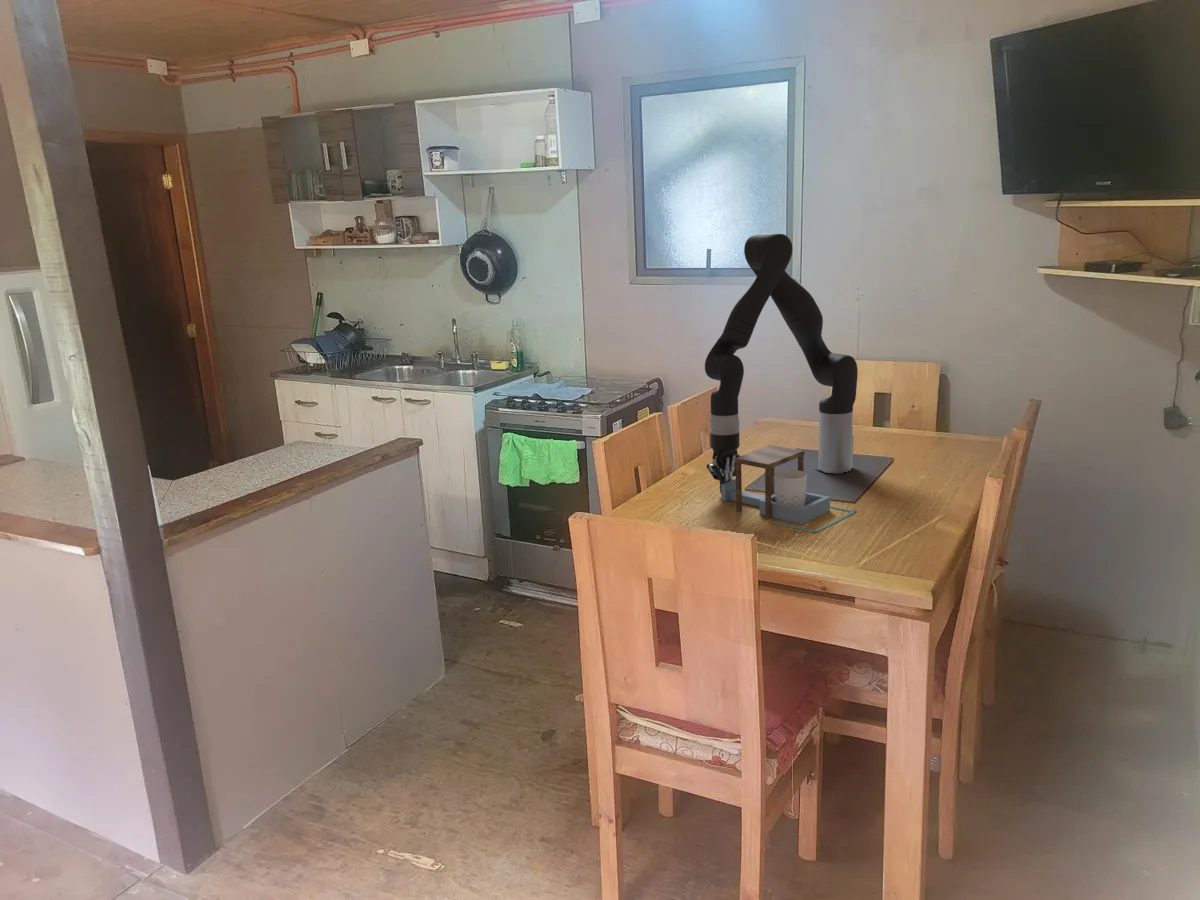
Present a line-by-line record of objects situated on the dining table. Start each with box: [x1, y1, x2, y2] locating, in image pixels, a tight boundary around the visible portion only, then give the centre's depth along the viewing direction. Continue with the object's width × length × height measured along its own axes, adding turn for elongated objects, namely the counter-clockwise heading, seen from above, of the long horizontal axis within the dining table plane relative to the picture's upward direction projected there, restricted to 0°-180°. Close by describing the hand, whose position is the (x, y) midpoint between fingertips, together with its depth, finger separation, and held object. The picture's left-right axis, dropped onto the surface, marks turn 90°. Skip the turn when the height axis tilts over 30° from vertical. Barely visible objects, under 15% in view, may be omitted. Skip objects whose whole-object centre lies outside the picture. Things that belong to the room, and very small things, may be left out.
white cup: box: [774, 469, 808, 508], centre depth 213 cm, size 8×8×10 cm
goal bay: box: [773, 505, 858, 534], centre depth 210 cm, size 18×11×1 cm, turn 134°
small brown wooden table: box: [735, 444, 805, 520], centre depth 217 cm, size 15×10×14 cm, turn 134°
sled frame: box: [720, 478, 831, 525], centre depth 218 cm, size 12×26×4 cm, turn 44°
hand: (725, 493), depth 229 cm, fingers closed
